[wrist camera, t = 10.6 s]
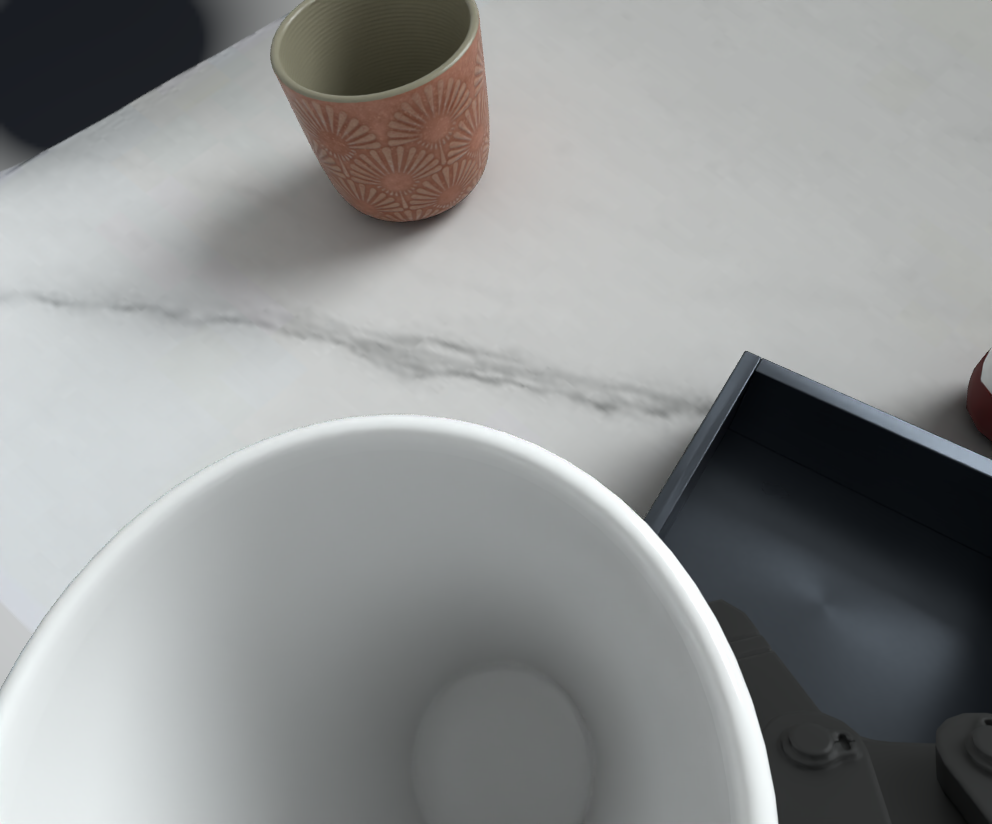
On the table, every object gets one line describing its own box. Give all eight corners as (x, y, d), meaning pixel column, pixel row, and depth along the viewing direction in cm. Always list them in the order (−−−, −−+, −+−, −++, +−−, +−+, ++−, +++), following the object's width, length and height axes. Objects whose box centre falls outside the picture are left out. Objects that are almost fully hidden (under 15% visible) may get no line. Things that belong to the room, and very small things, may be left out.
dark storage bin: (591, 630, 31) (593, 603, 25) (718, 415, 35) (745, 349, 29) (961, 875, 25) (1076, 914, 19) (1057, 581, 29) (1174, 540, 24)
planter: (456, 98, 50) (427, -56, 41) (530, 195, 44) (516, 42, 35) (310, 161, 49) (245, 17, 39) (367, 269, 43) (306, 131, 33)
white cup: (562, 971, 16) (512, 2056, 3) (344, 811, 18) (-281, 979, 5) (668, 708, 18) (916, 600, 5) (466, 595, 20) (274, 310, 7)
